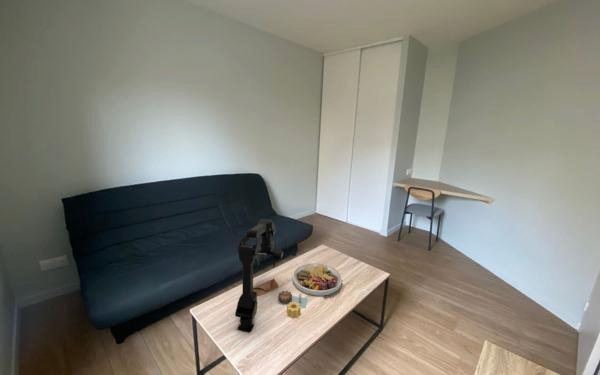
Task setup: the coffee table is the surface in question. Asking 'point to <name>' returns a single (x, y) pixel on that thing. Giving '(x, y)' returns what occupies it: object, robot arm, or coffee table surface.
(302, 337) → the coffee table surface
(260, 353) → the coffee table surface
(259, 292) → the sunglasses case
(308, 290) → the bowl
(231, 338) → the coffee table surface
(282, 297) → the gear
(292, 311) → the gear
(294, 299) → the gear board
